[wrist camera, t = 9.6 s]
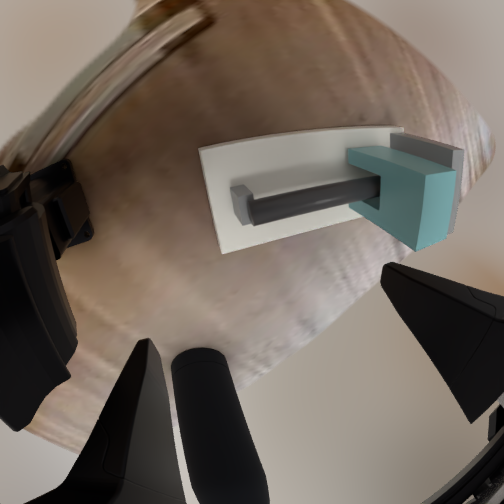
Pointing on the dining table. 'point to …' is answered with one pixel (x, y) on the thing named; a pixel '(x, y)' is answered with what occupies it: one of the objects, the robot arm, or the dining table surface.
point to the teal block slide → (302, 180)
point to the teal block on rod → (407, 195)
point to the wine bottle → (215, 432)
